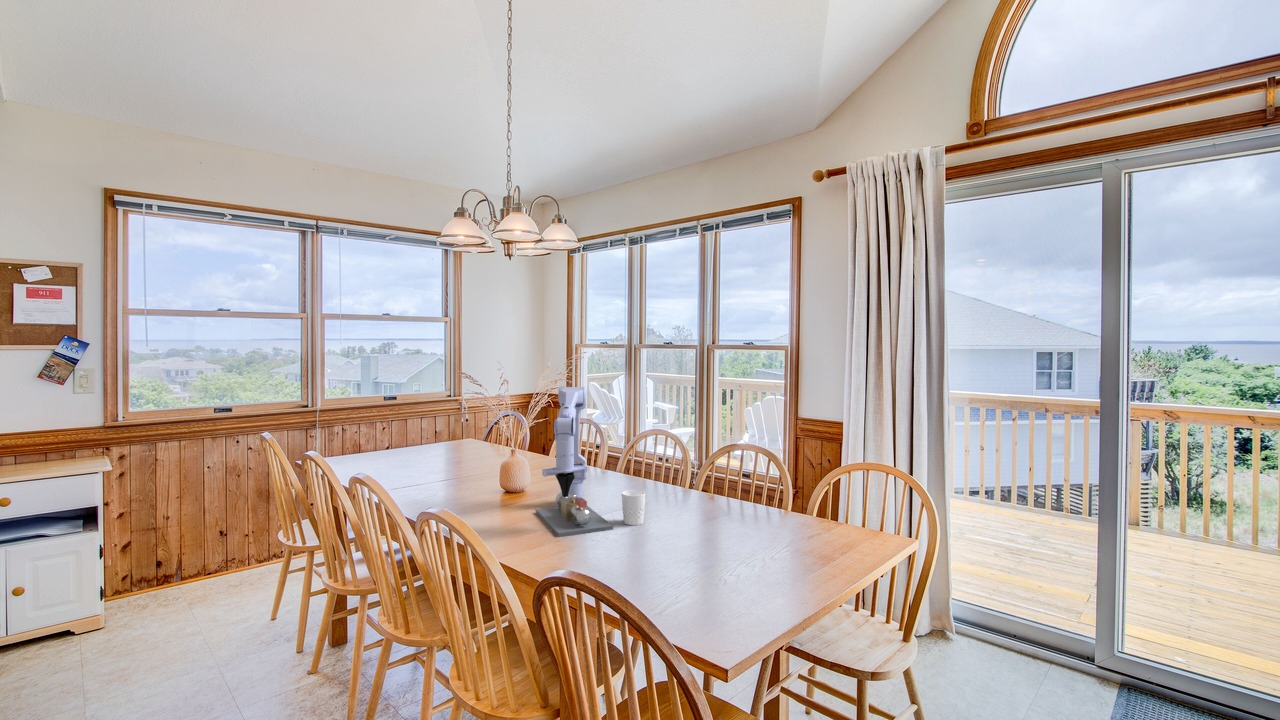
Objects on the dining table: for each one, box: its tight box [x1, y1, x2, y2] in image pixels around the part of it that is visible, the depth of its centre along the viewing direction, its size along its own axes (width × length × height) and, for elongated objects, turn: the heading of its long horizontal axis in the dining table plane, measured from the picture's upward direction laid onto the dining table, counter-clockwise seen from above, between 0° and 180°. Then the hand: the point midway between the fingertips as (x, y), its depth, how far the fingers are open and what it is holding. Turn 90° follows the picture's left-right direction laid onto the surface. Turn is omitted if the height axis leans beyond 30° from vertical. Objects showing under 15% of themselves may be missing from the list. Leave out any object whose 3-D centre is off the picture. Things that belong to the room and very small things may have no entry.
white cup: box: [621, 489, 646, 526], centre depth 193 cm, size 8×8×10 cm
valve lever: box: [569, 494, 588, 508], centre depth 190 cm, size 12×3×2 cm, turn 26°
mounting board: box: [535, 505, 614, 538], centre depth 195 cm, size 28×18×1 cm, turn 24°
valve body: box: [555, 491, 592, 526], centre depth 194 cm, size 25×6×6 cm, turn 24°
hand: (565, 496), depth 187 cm, fingers closed
